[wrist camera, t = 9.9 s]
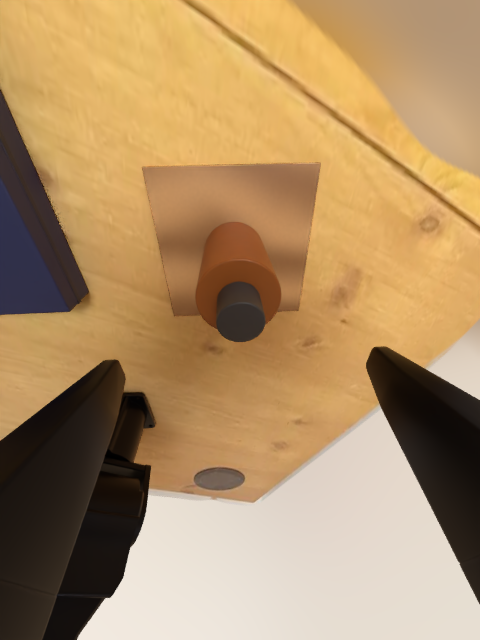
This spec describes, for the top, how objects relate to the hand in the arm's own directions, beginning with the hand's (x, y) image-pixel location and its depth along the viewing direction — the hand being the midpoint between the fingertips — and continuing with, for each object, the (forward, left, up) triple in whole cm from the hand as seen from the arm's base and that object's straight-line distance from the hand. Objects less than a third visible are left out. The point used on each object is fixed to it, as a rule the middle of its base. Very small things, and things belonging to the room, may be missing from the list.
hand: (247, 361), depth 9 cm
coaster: (0, 0, -12) cm, 12 cm away
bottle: (0, 0, -11) cm, 11 cm away
